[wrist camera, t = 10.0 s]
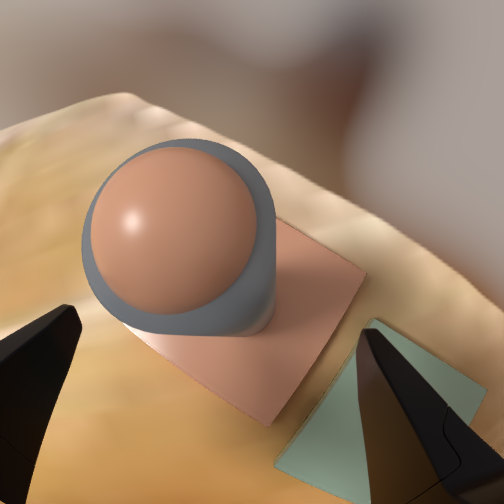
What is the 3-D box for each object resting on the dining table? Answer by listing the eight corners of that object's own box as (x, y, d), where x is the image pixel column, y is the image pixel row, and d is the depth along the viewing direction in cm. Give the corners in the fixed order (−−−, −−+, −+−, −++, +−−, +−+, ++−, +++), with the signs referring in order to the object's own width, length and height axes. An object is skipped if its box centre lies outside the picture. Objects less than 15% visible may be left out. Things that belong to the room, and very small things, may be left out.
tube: (278, 334, 18) (291, 323, 4) (210, 339, 18) (37, 331, 4) (272, 266, 19) (261, 84, 5) (206, 272, 19) (65, 126, 5)
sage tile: (480, 388, 16) (487, 389, 15) (397, 512, 14) (401, 518, 13) (369, 319, 18) (374, 318, 17) (273, 460, 16) (273, 466, 15)
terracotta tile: (362, 276, 19) (366, 273, 18) (268, 423, 17) (268, 427, 16) (221, 192, 21) (219, 185, 20) (129, 324, 19) (123, 324, 18)
